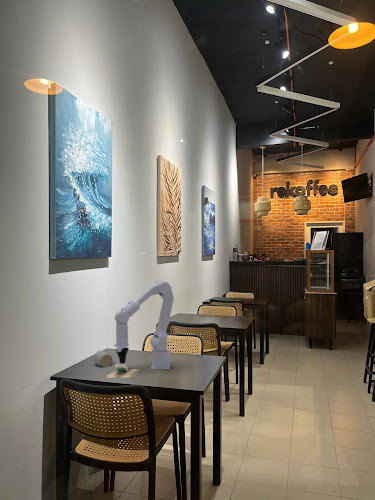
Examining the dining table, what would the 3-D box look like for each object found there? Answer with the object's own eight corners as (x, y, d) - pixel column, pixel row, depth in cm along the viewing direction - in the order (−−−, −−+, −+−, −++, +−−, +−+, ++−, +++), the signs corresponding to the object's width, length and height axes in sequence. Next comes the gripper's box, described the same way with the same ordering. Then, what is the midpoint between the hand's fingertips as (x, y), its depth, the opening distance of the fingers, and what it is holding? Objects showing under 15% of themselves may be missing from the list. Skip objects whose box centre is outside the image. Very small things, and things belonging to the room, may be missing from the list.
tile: (128, 368, 198) (125, 364, 193) (127, 371, 197) (124, 367, 192) (118, 368, 199) (115, 364, 193) (117, 371, 198) (114, 367, 192)
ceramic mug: (100, 369, 205) (100, 353, 205) (93, 366, 211) (93, 351, 212) (118, 365, 212) (118, 350, 212) (111, 362, 218) (111, 348, 218)
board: (140, 370, 201) (140, 369, 201) (134, 378, 187) (134, 377, 187) (112, 370, 202) (112, 369, 202) (105, 378, 188) (105, 377, 188)
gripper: (117, 333, 206) (118, 359, 206) (110, 338, 192) (110, 367, 191) (131, 332, 205) (131, 359, 205) (124, 338, 191) (125, 367, 191)
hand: (122, 363), depth 198 cm, fingers closed
